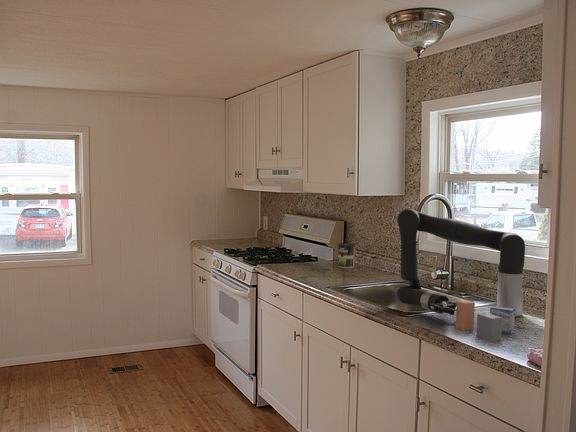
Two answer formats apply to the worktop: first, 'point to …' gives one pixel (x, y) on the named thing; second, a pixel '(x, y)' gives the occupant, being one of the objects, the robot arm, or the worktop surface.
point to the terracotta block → (465, 315)
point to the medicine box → (505, 318)
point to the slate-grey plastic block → (489, 327)
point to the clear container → (346, 255)
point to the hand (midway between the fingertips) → (463, 311)
